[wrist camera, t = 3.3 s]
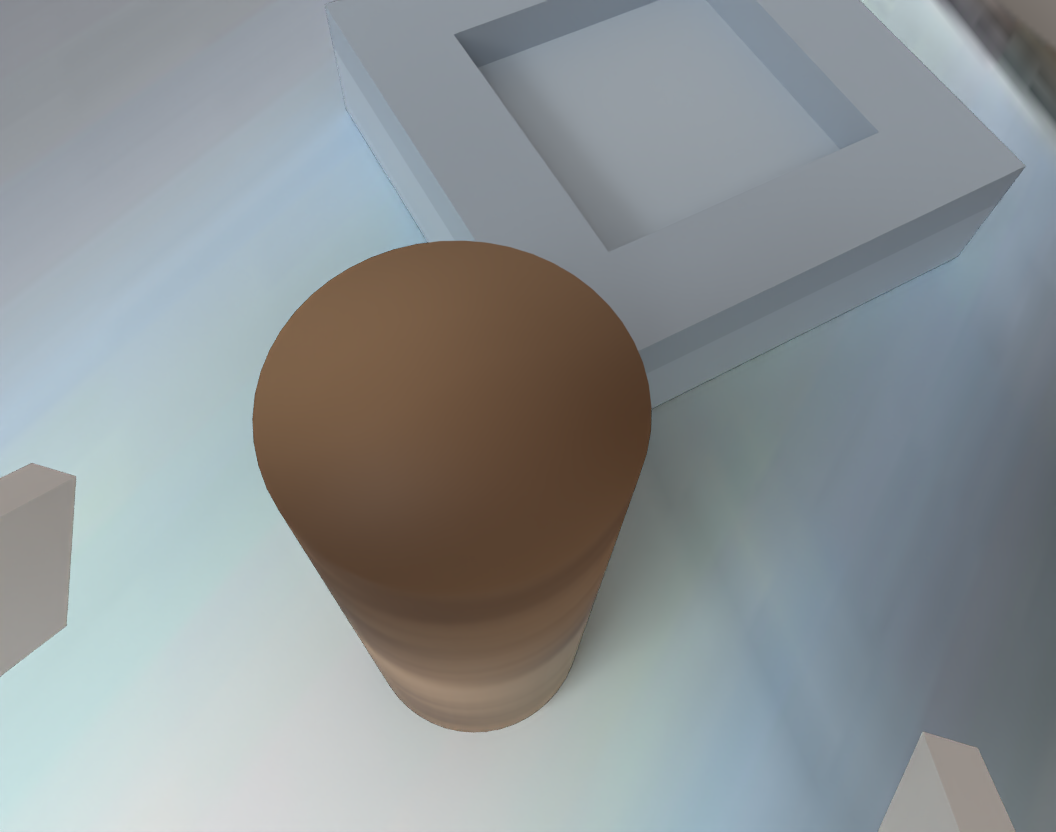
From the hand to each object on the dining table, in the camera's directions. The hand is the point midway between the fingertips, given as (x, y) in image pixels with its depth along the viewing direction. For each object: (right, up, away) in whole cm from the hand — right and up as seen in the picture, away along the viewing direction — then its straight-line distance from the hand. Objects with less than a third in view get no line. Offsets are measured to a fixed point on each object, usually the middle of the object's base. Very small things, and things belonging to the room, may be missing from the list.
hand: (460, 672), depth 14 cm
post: (0, -1, +9) cm, 9 cm away
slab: (+5, +11, +15) cm, 19 cm away
